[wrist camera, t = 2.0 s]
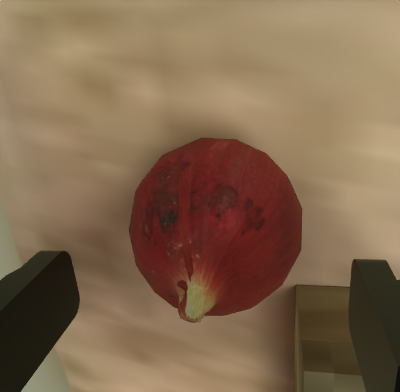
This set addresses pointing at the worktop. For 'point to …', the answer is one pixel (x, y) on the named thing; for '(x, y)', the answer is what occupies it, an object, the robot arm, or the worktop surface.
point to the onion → (215, 227)
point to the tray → (324, 342)
